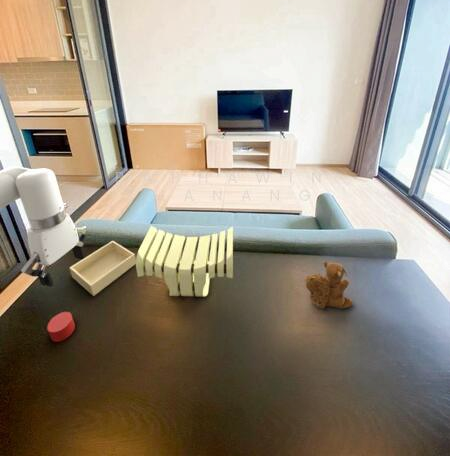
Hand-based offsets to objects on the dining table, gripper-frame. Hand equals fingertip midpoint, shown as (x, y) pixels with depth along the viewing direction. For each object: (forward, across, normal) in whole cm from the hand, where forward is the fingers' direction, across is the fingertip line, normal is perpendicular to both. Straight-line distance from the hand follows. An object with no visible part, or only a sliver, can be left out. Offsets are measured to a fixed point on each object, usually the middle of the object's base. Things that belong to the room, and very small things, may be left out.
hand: (65, 270), depth 67 cm
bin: (+21, -19, -8) cm, 29 cm away
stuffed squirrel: (+21, -31, +71) cm, 80 cm away
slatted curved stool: (+21, -24, +25) cm, 40 cm away
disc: (+21, +4, -3) cm, 21 cm away
